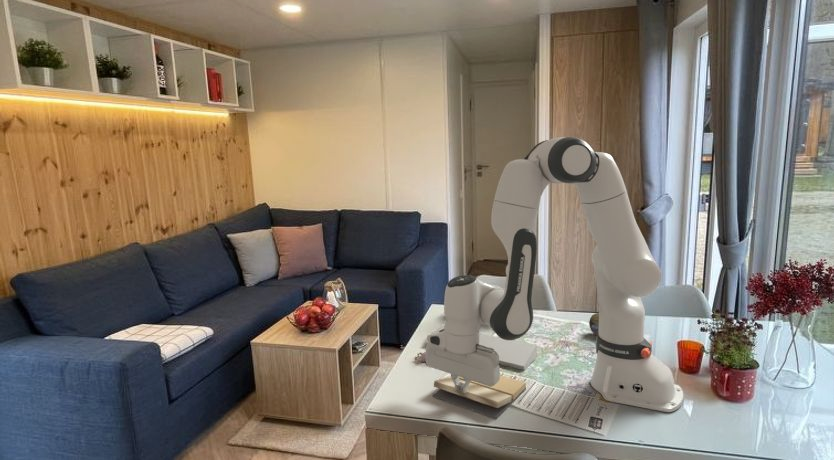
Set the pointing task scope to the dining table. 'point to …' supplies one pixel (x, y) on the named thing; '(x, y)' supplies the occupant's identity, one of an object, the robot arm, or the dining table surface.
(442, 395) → the laid floor
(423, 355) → the rabbit figure
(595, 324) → the tin
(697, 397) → the dining table surface
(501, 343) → the decorative molding
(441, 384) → the ash plank
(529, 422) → the dining table surface
